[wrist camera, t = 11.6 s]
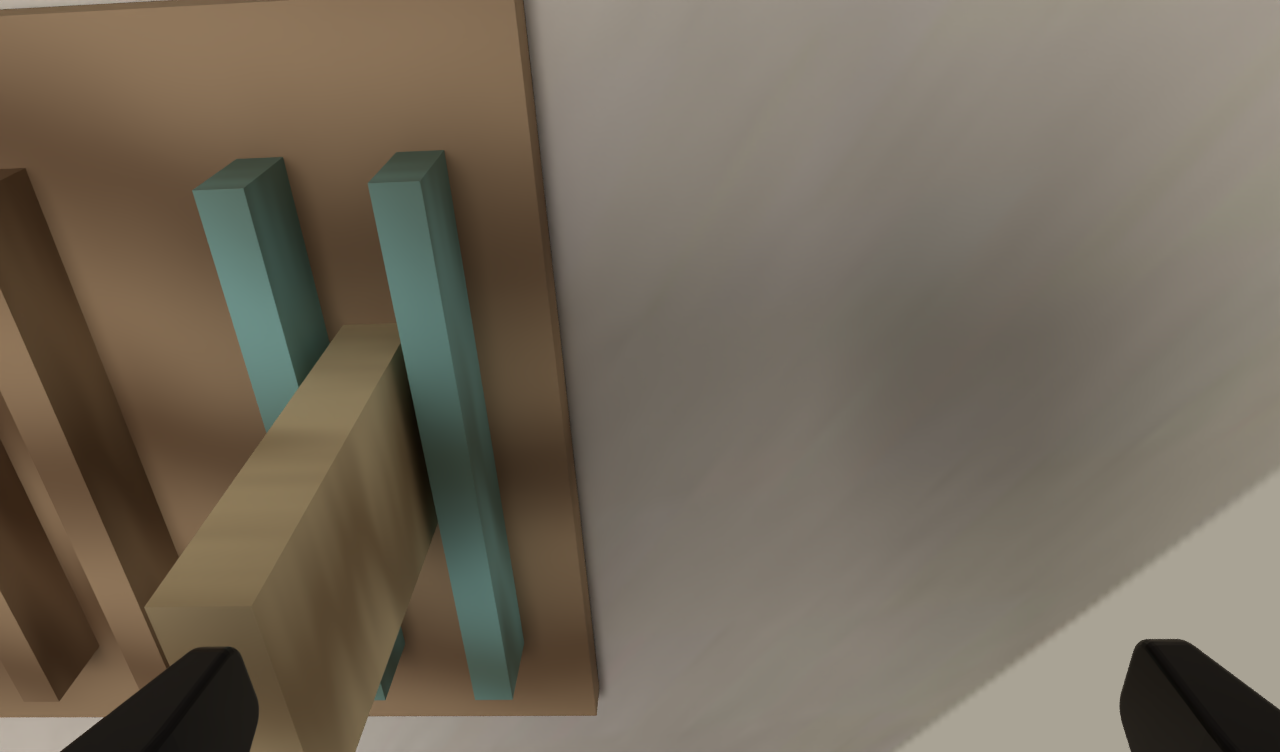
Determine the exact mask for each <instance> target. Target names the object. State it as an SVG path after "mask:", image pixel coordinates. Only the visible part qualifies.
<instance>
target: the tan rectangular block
mask: <svg viewBox="0 0 1280 752" xmlns="http://www.w3.org/2000/svg"><path fill="white" fill-rule="evenodd" d="M437 524H438V519H437V515H436V510H435V505H434V500H433V495H432V491H431V486H430V481H429V476H428V471H427V467H426V462H425V457H424V452H423V447H422V442H421V438H420V433H419V428H418V423H417V418H416V414H415V409H414V404H413V399H412V394H411V390H410V385H409V380H408V375H407V370H406V366H405V361H404V356H403V351H402V346H401V342H400V337H399V332H398V327H397V323H389V324H357V325H343V326H342V327H341V328H340V330H339V331H338V333H337V334H336V336H335V337H334V338H333V340H332V341H331V343H330V344H329V345H328V347H327V348H326V350H325V351H324V353H323V354H322V355H321V357H320V358H319V360H318V361H317V362H316V364H315V365H314V367H313V368H312V370H311V371H310V372H309V374H308V375H307V377H306V378H305V380H304V381H303V382H302V384H301V385H300V387H299V388H298V389H297V391H296V392H295V394H294V395H293V397H292V398H291V399H290V401H289V402H288V404H287V405H286V406H285V408H284V409H283V411H282V412H281V414H280V415H279V416H278V418H277V419H276V421H275V422H274V424H273V425H272V426H271V428H270V429H269V431H268V432H267V433H266V435H265V436H264V438H263V439H262V441H261V442H260V443H259V445H258V446H257V448H256V449H255V451H254V452H253V453H252V455H251V456H250V458H249V459H248V460H247V462H246V463H245V465H244V466H243V468H242V469H241V470H240V472H239V473H238V475H237V476H236V477H235V479H234V480H233V482H232V483H231V485H230V486H229V487H228V489H227V490H226V492H225V493H224V495H223V496H222V497H221V499H220V500H219V502H218V503H217V504H216V506H215V507H214V509H213V510H212V512H211V513H210V514H209V516H208V517H207V519H206V520H205V521H204V523H203V524H202V526H201V527H200V529H199V530H198V531H197V533H196V534H195V536H194V537H193V539H192V540H191V541H190V543H189V544H188V546H187V547H186V548H185V550H184V551H183V553H182V554H181V556H180V557H179V558H178V560H177V561H176V563H175V564H174V566H173V567H172V568H171V570H170V571H169V573H168V574H167V575H166V577H165V578H164V580H163V581H162V583H161V584H160V585H159V587H158V588H157V590H156V591H155V592H154V594H153V595H152V597H151V598H150V600H149V601H148V602H147V604H146V605H145V607H144V608H145V610H146V613H147V615H148V617H149V620H150V622H151V624H152V626H153V629H154V631H155V633H156V636H157V638H158V640H159V643H160V645H161V647H162V650H163V652H164V654H165V656H166V659H167V661H168V663H169V666H171V665H172V664H173V663H175V662H176V661H177V660H178V659H180V658H181V657H182V656H184V655H185V654H186V653H188V652H189V651H191V650H192V649H195V648H198V647H215V646H230V647H234V648H235V649H237V650H238V651H239V652H240V654H241V656H242V658H243V661H244V663H245V666H246V669H247V671H248V674H249V677H250V679H251V682H252V685H253V687H254V690H255V693H256V695H257V698H258V703H259V719H258V724H257V728H256V732H255V735H254V739H253V742H252V746H251V749H250V752H355V751H356V748H357V746H358V743H359V740H360V737H361V734H362V732H363V729H364V726H365V723H366V721H367V718H368V715H369V712H370V710H371V707H372V704H373V701H374V699H375V696H376V693H377V690H378V687H379V685H380V682H381V679H382V676H383V674H384V671H385V668H386V665H387V663H388V660H389V657H390V654H391V652H392V649H393V646H394V643H395V640H396V638H397V635H398V632H399V629H400V627H401V624H402V621H403V618H404V616H405V613H406V610H407V607H408V605H409V602H410V599H411V596H412V593H413V591H414V588H415V585H416V582H417V580H418V577H419V574H420V571H421V569H422V566H423V563H424V560H425V558H426V555H427V552H428V549H429V546H430V544H431V541H432V538H433V535H434V533H435V530H436V527H437Z"/></svg>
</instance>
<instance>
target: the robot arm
mask: <svg viewBox="0 0 1280 752" xmlns="http://www.w3.org/2000/svg"><path fill="white" fill-rule="evenodd" d="M1120 715H1121V720H1122V724H1123V727H1124V730H1125V734H1126V737H1127V740H1128V743H1129V747H1130V750H1131V752H1280V710H1279V709H1278V708H1277V707H1276V706H1274V705H1273V704H1272V703H1270V702H1269V701H1267V700H1266V699H1265V698H1263V697H1262V696H1261V695H1259V694H1258V693H1257V692H1255V691H1254V690H1253V689H1251V688H1250V687H1248V686H1247V685H1246V684H1245V683H1243V682H1242V681H1241V680H1239V679H1238V678H1237V677H1235V676H1234V675H1233V674H1231V673H1230V672H1229V671H1227V670H1226V669H1225V668H1223V667H1222V666H1220V665H1219V664H1218V663H1216V662H1215V661H1214V660H1213V659H1211V658H1210V657H1209V656H1207V655H1206V654H1204V653H1203V652H1202V651H1200V650H1199V649H1198V648H1196V647H1195V646H1194V645H1192V644H1191V643H1189V642H1187V641H1184V640H1180V639H1146V640H1142V641H1140V642H1139V643H1138V644H1137V645H1136V646H1135V649H1134V651H1133V654H1132V658H1131V661H1130V665H1129V668H1128V672H1127V675H1126V678H1125V681H1124V685H1123V689H1122V692H1121V696H1120ZM258 719H259V703H258V698H257V695H256V693H255V690H254V687H253V685H252V682H251V679H250V677H249V674H248V671H247V669H246V666H245V663H244V661H243V658H242V656H241V654H240V652H239V651H238V650H237V649H235V648H234V647H230V646H215V647H198V648H195V649H192V650H191V651H189V652H188V653H186V654H185V655H184V656H182V657H181V658H180V659H178V660H177V661H176V662H175V663H173V664H172V665H171V666H169V667H168V668H167V669H166V670H164V671H163V672H162V673H160V674H159V675H158V676H157V677H155V678H154V679H153V680H152V681H150V682H149V683H148V684H146V685H145V686H144V687H143V688H141V689H140V690H139V691H137V692H136V693H135V694H134V695H132V696H131V697H130V698H128V699H127V700H126V701H125V702H123V703H122V704H121V705H119V706H118V707H117V708H116V709H114V710H113V711H112V712H110V713H109V714H108V715H107V716H105V717H104V718H103V719H101V720H100V721H99V722H98V723H96V724H95V725H94V726H92V727H91V728H90V729H89V730H87V731H86V732H85V733H83V734H82V735H81V736H80V737H78V738H77V739H76V740H74V741H73V742H72V743H71V744H69V745H68V746H67V747H66V748H64V749H63V750H62V751H60V752H250V749H251V746H252V742H253V739H254V735H255V732H256V728H257V724H258Z"/></svg>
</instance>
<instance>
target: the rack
mask: <svg viewBox="0 0 1280 752" xmlns="http://www.w3.org/2000/svg"><path fill="white" fill-rule="evenodd" d="M389 323H397V327H398V332H399V337H400V342H401V346H402V351H403V356H404V361H405V366H406V370H407V375H408V380H409V385H410V390H411V394H412V399H413V404H414V409H415V414H416V418H417V423H418V428H419V433H420V438H421V442H422V447H423V452H424V457H425V462H426V467H427V471H428V476H429V481H430V486H431V491H432V495H433V500H434V505H435V510H436V515H437V519H438V524H437V527H436V530H435V533H434V535H433V538H432V541H431V544H430V546H429V549H428V552H427V555H426V558H425V560H424V563H423V566H422V569H421V571H420V574H419V577H418V580H417V582H416V585H415V588H414V591H413V593H412V596H411V599H410V602H409V605H408V607H407V610H406V613H405V616H404V618H403V621H402V624H401V627H400V629H399V632H398V635H397V638H396V640H395V643H394V646H393V649H392V652H391V654H390V657H389V660H388V663H387V665H386V668H385V671H384V674H383V676H382V679H381V682H380V685H379V687H378V690H377V693H376V696H375V699H374V701H373V704H372V707H371V710H370V712H369V715H368V716H596V715H597V706H598V696H599V682H598V673H597V664H596V655H595V646H594V637H593V628H592V619H591V610H590V601H589V592H588V583H587V574H586V565H585V556H584V547H583V538H582V529H581V519H580V510H579V501H578V492H577V483H576V474H575V465H574V456H573V447H572V438H571V429H570V420H569V411H568V402H567V393H566V384H565V375H564V366H563V357H562V348H561V339H560V330H559V321H558V311H557V302H556V293H555V284H554V275H553V266H552V257H551V248H550V239H549V230H548V221H547V212H546V203H545V194H544V185H543V176H542V167H541V158H540V149H539V140H538V131H537V122H536V113H535V104H534V94H533V85H532V76H531V67H530V58H529V49H528V40H527V31H526V22H525V13H524V4H523V0H169V1H151V2H133V3H114V4H96V5H78V6H59V7H41V8H23V9H4V10H0V717H105V716H107V715H108V714H109V713H110V712H112V711H113V710H114V709H116V708H117V707H118V706H119V705H121V704H122V703H123V702H125V701H126V700H127V699H128V698H130V697H131V696H132V695H134V694H135V693H136V692H137V691H139V690H140V689H141V688H143V687H144V686H145V685H146V684H148V683H149V682H150V681H152V680H153V679H154V678H155V677H157V676H158V675H159V674H160V673H162V672H163V671H164V670H166V669H167V668H168V667H169V663H168V661H167V659H166V656H165V654H164V652H163V650H162V647H161V645H160V643H159V640H158V638H157V636H156V633H155V631H154V629H153V626H152V624H151V622H150V620H149V617H148V615H147V613H146V610H145V608H144V607H145V605H146V604H147V602H148V601H149V600H150V598H151V597H152V595H153V594H154V592H155V591H156V590H157V588H158V587H159V585H160V584H161V583H162V581H163V580H164V578H165V577H166V575H167V574H168V573H169V571H170V570H171V568H172V567H173V566H174V564H175V563H176V561H177V560H178V558H179V557H180V556H181V554H182V553H183V551H184V550H185V548H186V547H187V546H188V544H189V543H190V541H191V540H192V539H193V537H194V536H195V534H196V533H197V531H198V530H199V529H200V527H201V526H202V524H203V523H204V521H205V520H206V519H207V517H208V516H209V514H210V513H211V512H212V510H213V509H214V507H215V506H216V504H217V503H218V502H219V500H220V499H221V497H222V496H223V495H224V493H225V492H226V490H227V489H228V487H229V486H230V485H231V483H232V482H233V480H234V479H235V477H236V476H237V475H238V473H239V472H240V470H241V469H242V468H243V466H244V465H245V463H246V462H247V460H248V459H249V458H250V456H251V455H252V453H253V452H254V451H255V449H256V448H257V446H258V445H259V443H260V442H261V441H262V439H263V438H264V436H265V435H266V433H267V432H268V431H269V429H270V428H271V426H272V425H273V424H274V422H275V421H276V419H277V418H278V416H279V415H280V414H281V412H282V411H283V409H284V408H285V406H286V405H287V404H288V402H289V401H290V399H291V398H292V397H293V395H294V394H295V392H296V391H297V389H298V388H299V387H300V385H301V384H302V382H303V381H304V380H305V378H306V377H307V375H308V374H309V372H310V371H311V370H312V368H313V367H314V365H315V364H316V362H317V361H318V360H319V358H320V357H321V355H322V354H323V353H324V351H325V350H326V348H327V347H328V345H329V344H330V343H331V341H332V340H333V338H334V337H335V336H336V334H337V333H338V331H339V330H340V328H341V327H342V326H343V325H357V324H389Z"/></svg>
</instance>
